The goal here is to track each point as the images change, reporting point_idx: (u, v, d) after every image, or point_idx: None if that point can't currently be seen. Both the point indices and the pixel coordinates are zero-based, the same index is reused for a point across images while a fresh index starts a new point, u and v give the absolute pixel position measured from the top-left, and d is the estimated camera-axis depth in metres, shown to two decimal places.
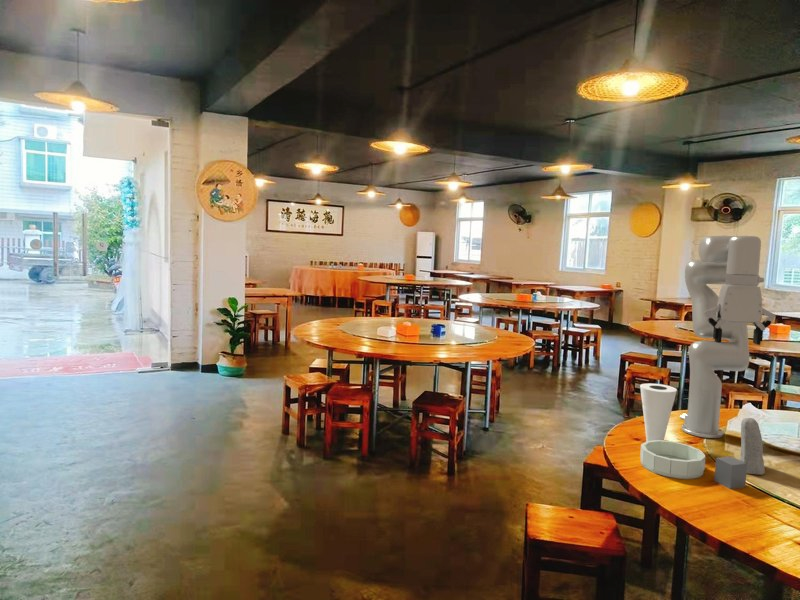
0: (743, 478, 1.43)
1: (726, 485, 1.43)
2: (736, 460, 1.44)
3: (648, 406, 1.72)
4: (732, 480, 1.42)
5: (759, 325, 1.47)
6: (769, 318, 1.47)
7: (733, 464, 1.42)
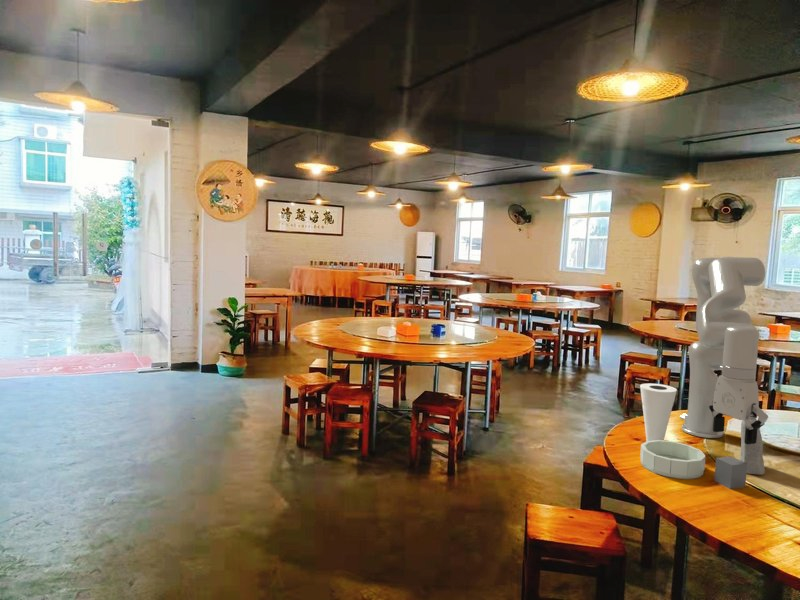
0: (743, 478, 1.43)
1: (726, 485, 1.43)
2: (736, 460, 1.44)
3: (648, 406, 1.72)
4: (732, 480, 1.42)
5: None
6: None
7: (733, 464, 1.42)
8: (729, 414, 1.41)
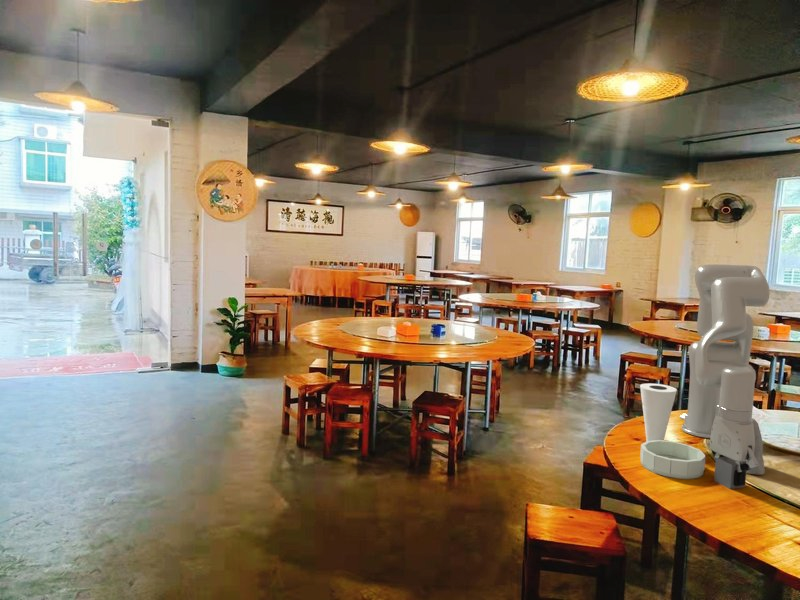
0: None
1: (726, 485, 1.43)
2: None
3: (648, 406, 1.72)
4: (732, 480, 1.42)
5: None
6: None
7: (733, 464, 1.42)
8: (725, 455, 1.43)
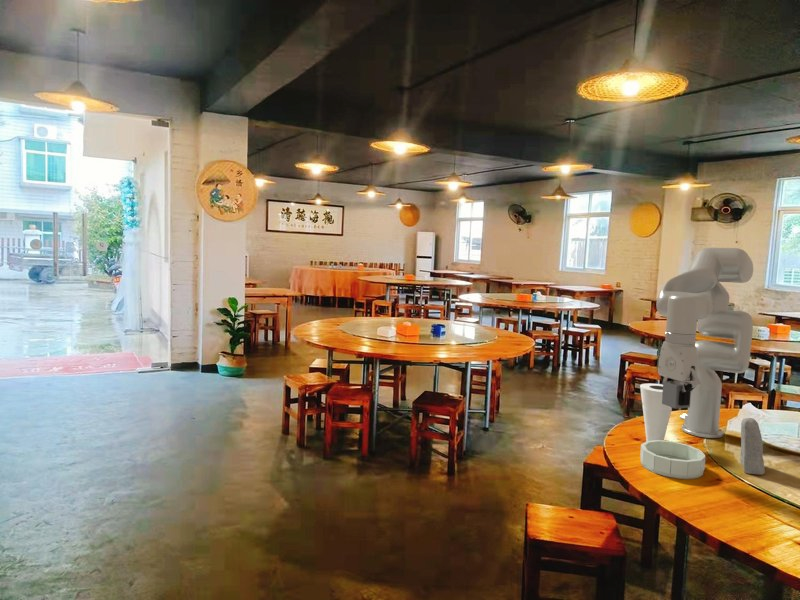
0: None
1: (672, 405, 1.51)
2: None
3: (648, 406, 1.72)
4: (677, 400, 1.50)
5: None
6: None
7: (678, 385, 1.50)
8: (671, 377, 1.51)
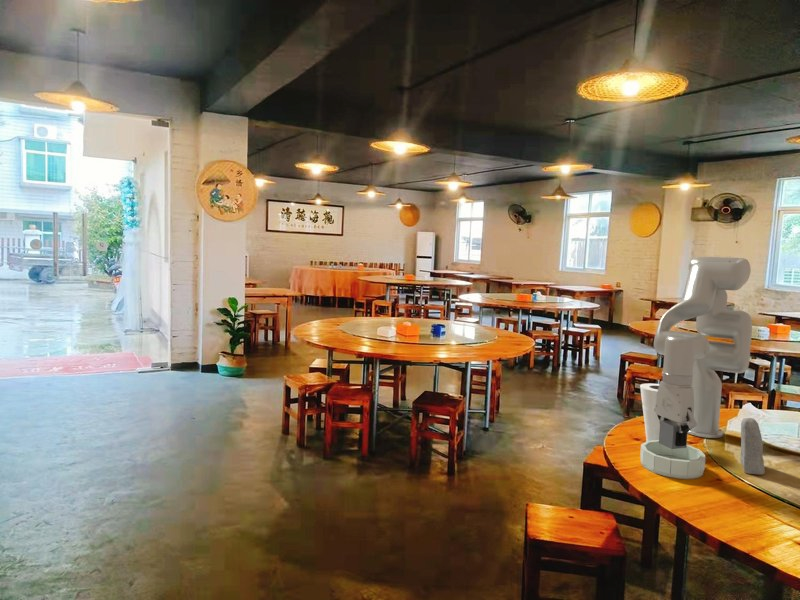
0: None
1: (668, 445, 1.52)
2: None
3: (648, 406, 1.72)
4: (674, 441, 1.51)
5: None
6: None
7: (674, 425, 1.51)
8: (668, 417, 1.52)
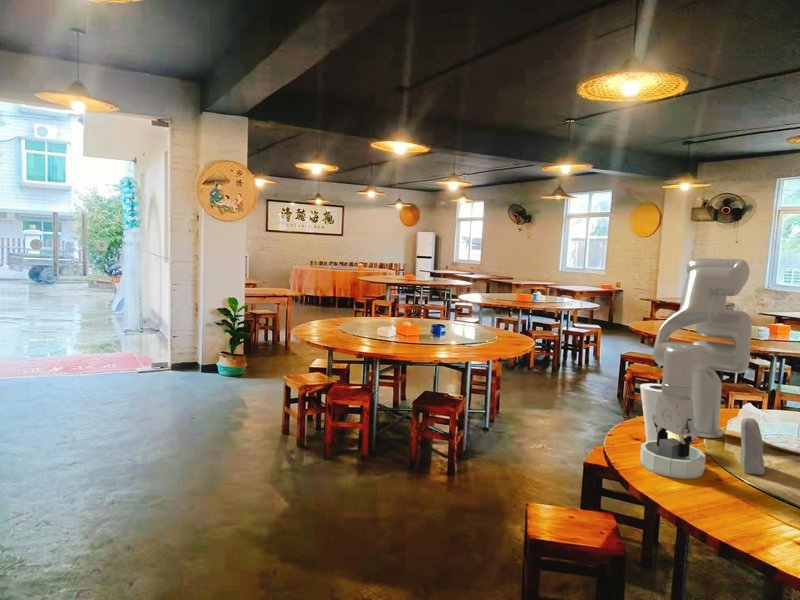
0: (683, 457, 1.53)
1: None
2: (677, 441, 1.55)
3: (648, 406, 1.72)
4: None
5: None
6: None
7: (673, 445, 1.52)
8: (667, 428, 1.53)
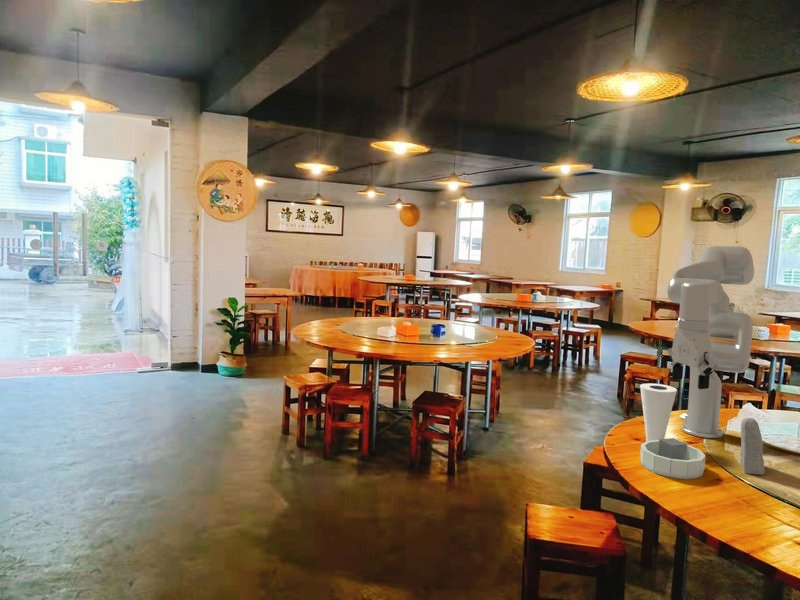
0: (683, 457, 1.53)
1: None
2: (677, 441, 1.55)
3: (648, 406, 1.72)
4: None
5: None
6: None
7: (673, 445, 1.52)
8: (685, 362, 1.54)
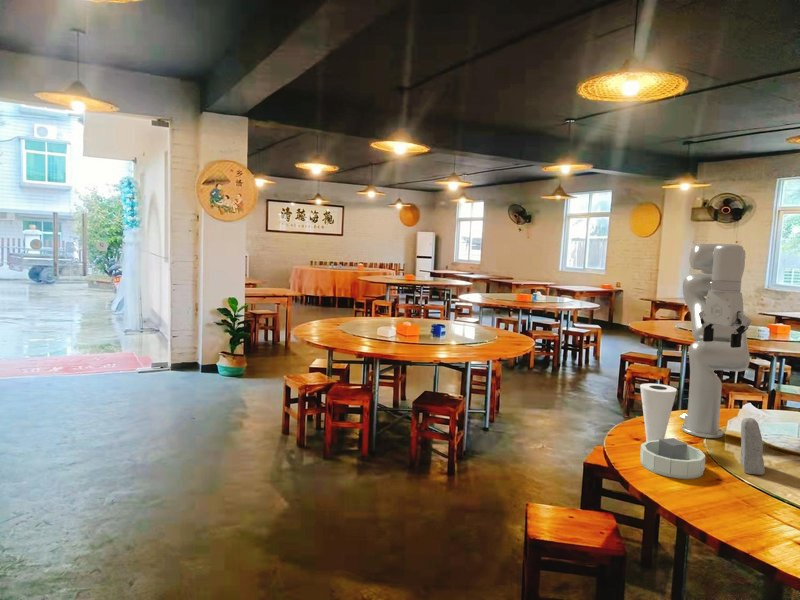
0: (683, 457, 1.53)
1: None
2: (677, 441, 1.55)
3: (648, 406, 1.72)
4: None
5: None
6: None
7: (673, 445, 1.52)
8: (717, 323, 1.59)
